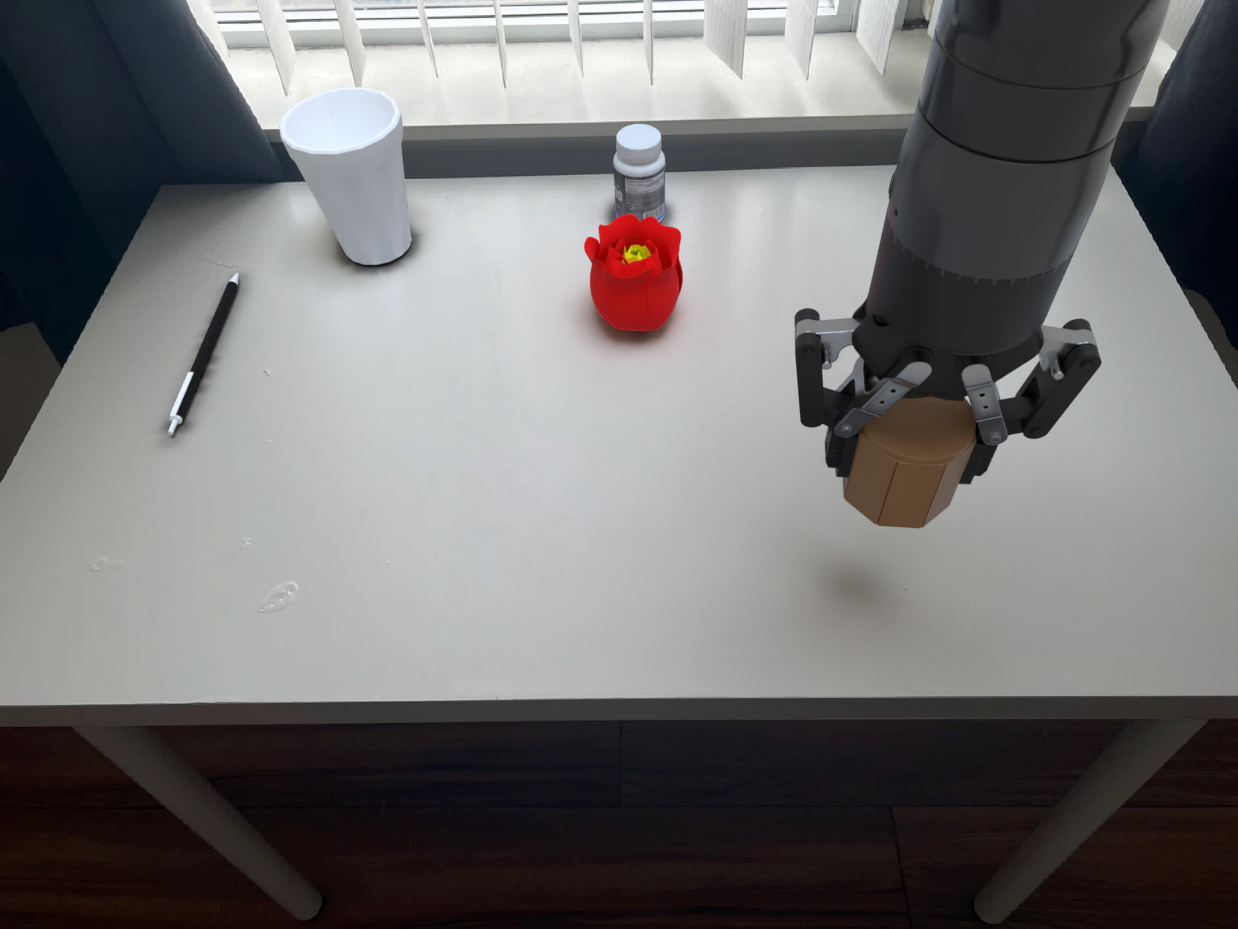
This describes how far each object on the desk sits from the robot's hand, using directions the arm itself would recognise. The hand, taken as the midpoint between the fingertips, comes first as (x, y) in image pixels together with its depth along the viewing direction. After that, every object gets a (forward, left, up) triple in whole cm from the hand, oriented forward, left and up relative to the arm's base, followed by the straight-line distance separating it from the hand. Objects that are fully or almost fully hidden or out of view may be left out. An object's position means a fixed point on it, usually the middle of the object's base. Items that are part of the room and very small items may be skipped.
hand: (901, 467), depth 49 cm
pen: (+53, -19, -13) cm, 58 cm away
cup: (+42, -33, -13) cm, 55 cm away
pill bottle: (+18, -39, -13) cm, 45 cm away
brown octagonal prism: (0, 0, -2) cm, 2 cm away
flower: (+17, -25, -13) cm, 33 cm away
